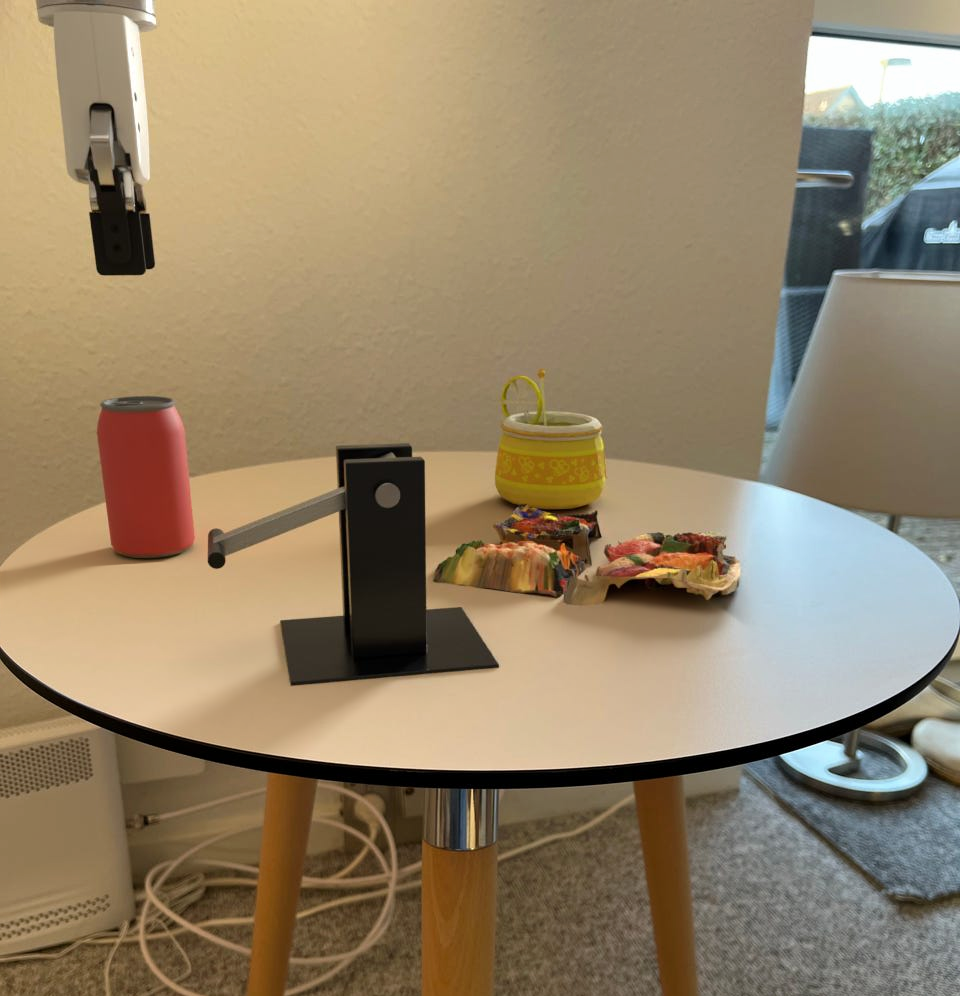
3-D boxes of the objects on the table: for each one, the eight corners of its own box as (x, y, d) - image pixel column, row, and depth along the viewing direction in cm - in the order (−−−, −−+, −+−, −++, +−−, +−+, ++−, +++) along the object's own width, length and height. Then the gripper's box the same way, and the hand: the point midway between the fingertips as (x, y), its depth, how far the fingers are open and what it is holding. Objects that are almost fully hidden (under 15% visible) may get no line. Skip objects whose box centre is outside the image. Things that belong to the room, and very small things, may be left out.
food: (756, 562, 82) (761, 519, 81) (722, 642, 66) (727, 590, 64) (500, 532, 89) (501, 492, 88) (412, 598, 73) (411, 550, 72)
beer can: (126, 537, 87) (109, 394, 82) (204, 538, 87) (190, 395, 82) (100, 560, 81) (80, 407, 76) (184, 561, 81) (168, 408, 76)
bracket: (291, 701, 57) (277, 476, 52) (281, 637, 66) (267, 439, 61) (499, 682, 60) (503, 466, 55) (461, 623, 69) (462, 432, 64)
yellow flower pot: (618, 513, 96) (627, 383, 91) (504, 516, 94) (507, 384, 90) (585, 482, 108) (591, 366, 103) (483, 485, 106) (484, 367, 102)
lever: (217, 583, 56) (198, 544, 55) (217, 557, 60) (200, 520, 59) (417, 503, 57) (402, 464, 56) (402, 483, 61) (388, 447, 60)
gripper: (55, 20, 75) (88, 267, 81) (10, -33, 59) (56, 278, 66) (161, 24, 76) (185, 267, 83) (144, -26, 61) (176, 277, 67)
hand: (128, 271), depth 74 cm, fingers open, 9 cm apart
